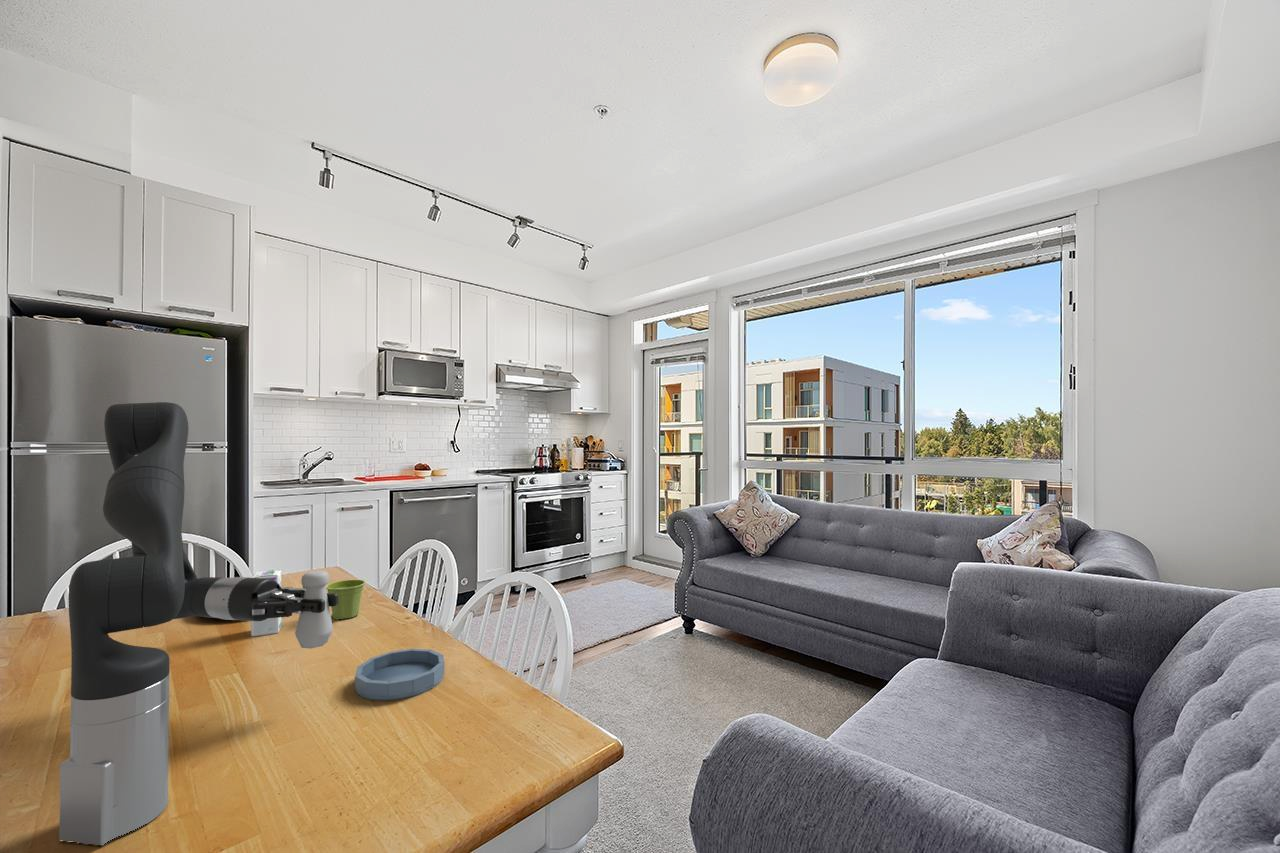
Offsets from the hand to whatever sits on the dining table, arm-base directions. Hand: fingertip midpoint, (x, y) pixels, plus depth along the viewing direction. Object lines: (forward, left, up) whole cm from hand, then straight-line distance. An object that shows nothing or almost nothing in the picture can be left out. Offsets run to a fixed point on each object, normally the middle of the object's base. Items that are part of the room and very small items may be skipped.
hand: (330, 603), depth 99 cm
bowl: (+11, -7, -19) cm, 23 cm away
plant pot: (+45, +29, -19) cm, 57 cm away
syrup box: (+32, +41, -19) cm, 55 cm away
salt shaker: (0, +3, -8) cm, 8 cm away
